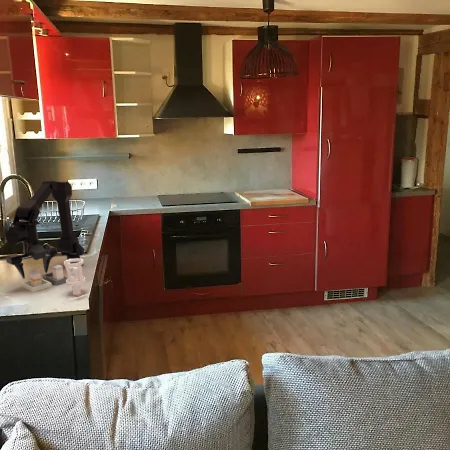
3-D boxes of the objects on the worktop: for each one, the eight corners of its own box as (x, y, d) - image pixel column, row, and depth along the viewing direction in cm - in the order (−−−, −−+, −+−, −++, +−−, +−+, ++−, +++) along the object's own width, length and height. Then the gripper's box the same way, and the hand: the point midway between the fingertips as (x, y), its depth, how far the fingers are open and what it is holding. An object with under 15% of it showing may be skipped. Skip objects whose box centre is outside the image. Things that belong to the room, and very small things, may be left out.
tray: (21, 288, 202) (21, 282, 202) (40, 283, 208) (40, 277, 207) (32, 294, 195) (31, 288, 195) (52, 288, 201) (51, 282, 200)
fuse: (53, 282, 205) (51, 266, 203) (60, 280, 207) (58, 264, 205) (57, 284, 202) (55, 268, 201) (64, 282, 204) (62, 266, 203)
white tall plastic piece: (64, 297, 191) (59, 259, 188) (78, 291, 197) (74, 254, 193) (76, 300, 187) (72, 262, 184) (90, 294, 193) (86, 256, 189)
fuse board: (43, 281, 210) (42, 274, 209) (54, 278, 213) (53, 271, 212) (56, 288, 201) (55, 281, 200) (68, 284, 205) (67, 277, 204)
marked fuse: (31, 287, 202) (29, 270, 200) (38, 285, 204) (36, 268, 202) (35, 289, 199) (33, 272, 198) (42, 287, 201) (40, 270, 200)
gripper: (15, 246, 185) (20, 286, 188) (62, 236, 198) (66, 273, 201) (3, 241, 193) (8, 280, 196) (48, 232, 205) (53, 268, 209)
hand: (35, 275), depth 200 cm, fingers open, 9 cm apart
